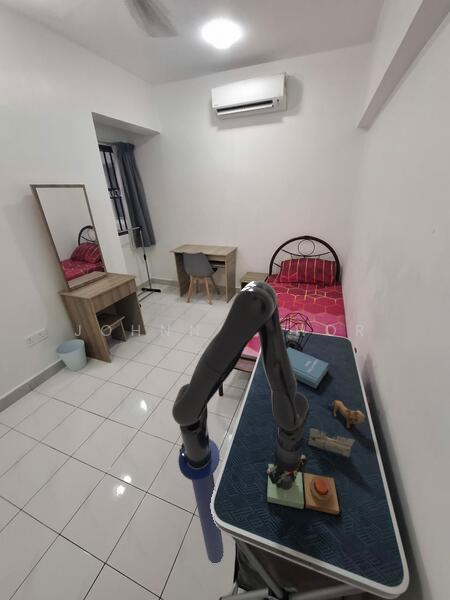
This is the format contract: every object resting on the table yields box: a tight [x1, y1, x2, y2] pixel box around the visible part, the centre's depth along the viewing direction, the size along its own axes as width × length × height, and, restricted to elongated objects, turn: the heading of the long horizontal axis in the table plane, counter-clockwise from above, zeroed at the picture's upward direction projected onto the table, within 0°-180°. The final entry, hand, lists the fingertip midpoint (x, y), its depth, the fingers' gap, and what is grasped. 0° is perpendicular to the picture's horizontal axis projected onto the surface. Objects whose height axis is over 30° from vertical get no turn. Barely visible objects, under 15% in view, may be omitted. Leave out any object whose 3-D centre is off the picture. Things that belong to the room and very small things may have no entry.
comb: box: [307, 427, 356, 458], centre depth 87 cm, size 15×2×10 cm, turn 70°
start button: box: [315, 479, 328, 495], centre depth 75 cm, size 4×4×2 cm
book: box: [286, 346, 330, 389], centre depth 126 cm, size 23×16×5 cm
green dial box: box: [266, 463, 305, 510], centre depth 79 cm, size 11×10×3 cm
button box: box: [302, 472, 340, 516], centre depth 76 cm, size 10×9×4 cm
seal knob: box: [281, 472, 293, 490], centre depth 77 cm, size 4×4×5 cm
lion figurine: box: [327, 400, 366, 429], centre depth 99 cm, size 15×5×9 cm, turn 35°
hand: (285, 481), depth 78 cm, fingers closed on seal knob, 4 cm apart
